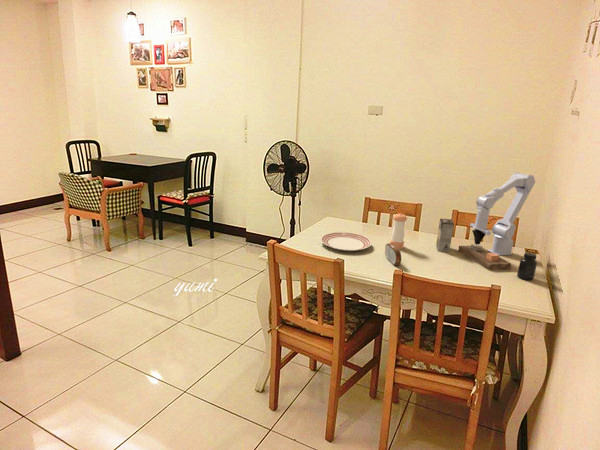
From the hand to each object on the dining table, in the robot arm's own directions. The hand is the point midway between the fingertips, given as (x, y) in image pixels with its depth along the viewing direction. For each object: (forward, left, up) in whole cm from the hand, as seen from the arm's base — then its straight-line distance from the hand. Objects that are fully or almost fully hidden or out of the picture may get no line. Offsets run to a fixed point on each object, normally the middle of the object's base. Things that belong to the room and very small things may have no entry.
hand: (477, 243), depth 209 cm
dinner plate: (+66, -20, -7) cm, 69 cm away
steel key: (0, 0, -4) cm, 4 cm away
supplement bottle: (-6, +29, -7) cm, 31 cm away
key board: (0, +6, -6) cm, 9 cm away
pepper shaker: (+38, -16, -7) cm, 42 cm away
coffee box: (+13, -11, -7) cm, 18 cm away
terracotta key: (0, +13, -4) cm, 14 cm away
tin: (+50, +5, -7) cm, 51 cm away
